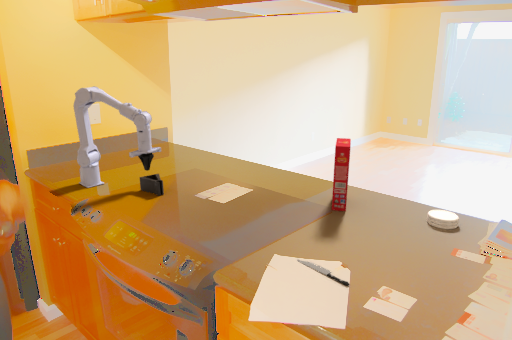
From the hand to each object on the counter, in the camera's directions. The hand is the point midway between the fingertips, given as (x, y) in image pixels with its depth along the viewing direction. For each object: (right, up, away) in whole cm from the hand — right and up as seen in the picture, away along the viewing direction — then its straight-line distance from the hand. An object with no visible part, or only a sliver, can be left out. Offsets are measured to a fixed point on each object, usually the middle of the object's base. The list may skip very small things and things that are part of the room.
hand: (147, 170), depth 167 cm
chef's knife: (+66, -28, -64) cm, 96 cm away
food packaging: (+82, -14, -17) cm, 85 cm away
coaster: (+114, -19, -35) cm, 121 cm away
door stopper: (+1, -5, 0) cm, 5 cm away
